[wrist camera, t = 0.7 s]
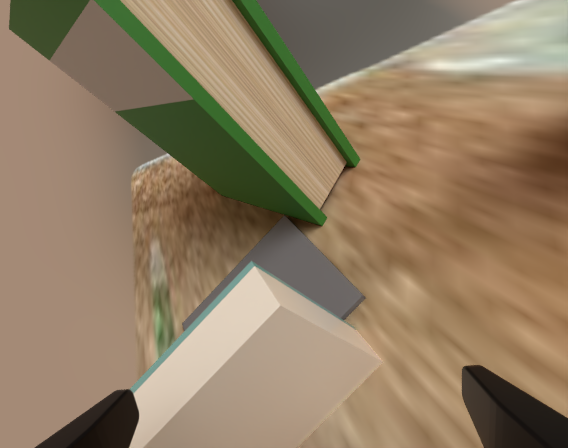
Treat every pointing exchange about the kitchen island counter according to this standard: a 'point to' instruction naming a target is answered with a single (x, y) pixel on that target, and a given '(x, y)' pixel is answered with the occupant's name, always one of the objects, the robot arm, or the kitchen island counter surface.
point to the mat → (294, 271)
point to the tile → (251, 371)
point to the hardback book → (201, 91)
